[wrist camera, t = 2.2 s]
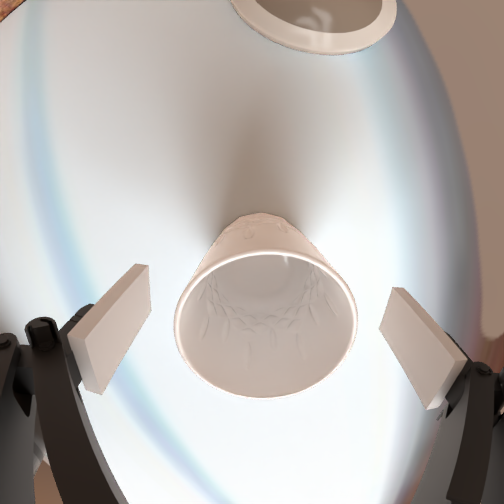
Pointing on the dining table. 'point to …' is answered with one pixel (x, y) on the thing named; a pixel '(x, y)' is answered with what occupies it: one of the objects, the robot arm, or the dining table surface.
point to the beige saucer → (319, 23)
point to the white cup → (264, 312)
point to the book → (8, 7)
